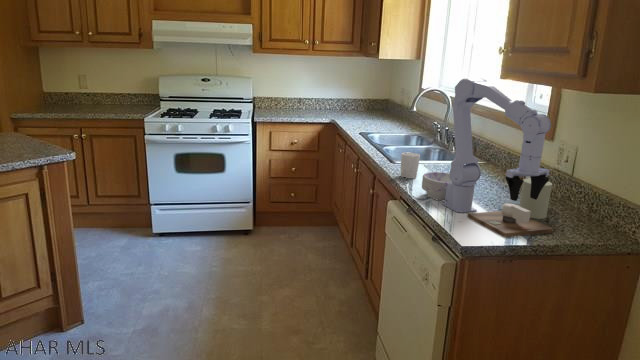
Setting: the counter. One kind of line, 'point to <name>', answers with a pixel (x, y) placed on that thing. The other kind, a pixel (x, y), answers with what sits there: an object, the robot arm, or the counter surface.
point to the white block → (516, 212)
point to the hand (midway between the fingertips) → (523, 199)
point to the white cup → (409, 164)
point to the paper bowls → (436, 184)
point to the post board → (508, 224)
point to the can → (535, 206)
